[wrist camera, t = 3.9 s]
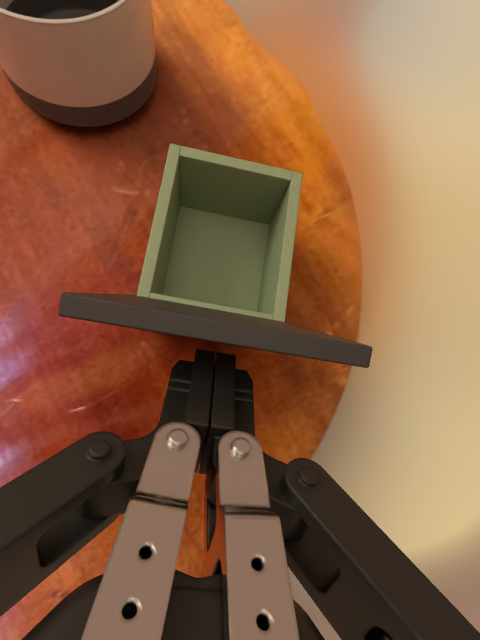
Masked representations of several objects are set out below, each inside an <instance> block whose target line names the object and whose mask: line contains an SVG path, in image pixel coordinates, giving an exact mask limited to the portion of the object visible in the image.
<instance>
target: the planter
mask: <svg viewBox="0 0 480 640" xmlns="http://www.w3.org/2000/svg"><path fill="white" fill-rule="evenodd" d="M0 65H1V67H2V69H3V71H4V73H5V74H6V76H7V78H8V80H9V82H10V84H11V85H12V87H13V89H14V90H15V92H16V93H17V95H18V96H19V97H20V98H21V99H22V101H23V102H24V103H25V104H27V105H28V106H29V107H30V108H31V109H33V110H34V111H35V112H37V113H39V114H40V115H42V116H44V117H46V118H48V119H50V120H53V121H56V122H59V123H62V124H66V125H71V126H79V127H96V126H103V125H108V124H112V123H115V122H117V121H120V120H122V119H124V118H126V117H128V116H130V115H131V114H133V113H134V112H136V111H137V110H138V109H139V108H140V107H141V106H142V105H143V104H144V103H145V102H146V101H147V100H148V98H149V97H150V95H151V93H152V91H153V89H154V86H155V83H156V79H157V58H156V46H155V33H154V21H153V8H152V0H0Z"/></svg>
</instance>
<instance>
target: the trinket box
mask: <svg viewBox="0 0 480 640" xmlns="http://www.w3.org/2000/svg"><path fill="white" fill-rule="evenodd" d="M302 176H303V174H302V173H299V172H295V171H290V170H286V169H281V168H277V167H273V166H268V165H264V164H260V163H255V162H251V161H246V160H242V159H238V158H233V157H229V156H224V155H220V154H216V153H211V152H207V151H202V150H198V149H194V148H189V147H185V146H182V147H181V146H180V145H176V144H171V143H170V146H169V151H168V155H167V160H166V164H165V169H164V173H163V178H162V182H161V187H160V192H159V196H158V201H157V205H156V210H155V214H154V219H153V223H152V228H151V232H150V237H149V242H148V246H147V251H146V255H145V260H144V264H143V269H142V273H141V278H140V283H139V287H138V292H137V295H138V296H143V297H149V298H154V299H160V300H166V301H171V302H177V303H182V304H188V305H193V306H199V307H205V308H210V309H216V310H221V311H227V312H232V313H238V314H244V315H249V316H255V317H260V318H266V319H271V320H277V321H283V322H285V315H286V307H287V299H288V290H289V282H290V274H291V266H292V258H293V249H294V241H295V233H296V225H297V217H298V208H299V200H300V192H301V184H302Z"/></svg>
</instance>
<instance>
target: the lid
mask: <svg viewBox="0 0 480 640" xmlns="http://www.w3.org/2000/svg"><path fill="white" fill-rule="evenodd" d="M58 315H59V316H63V317H69V318H75V319H81V320H87V321H93V322H98V323H104V324H110V325H116V326H122V327H128V328H134V329H140V330H146V331H152V332H157V333H163V334H169V335H175V336H181V337H187V338H193V339H199V340H205V341H211V342H217V343H222V344H228V345H234V346H240V347H246V348H252V349H258V350H264V351H270V352H276V353H282V354H287V355H293V356H299V357H305V358H311V359H317V360H323V361H329V362H335V363H341V364H347V365H352V366H359V367H364V368H368V367H369V363H370V358H371V353H372V347H370V346H367V345H364V344H360V343H357V342H354V341H350V340H347V339H343V338H340V337H336V336H333V335H329V334H326V333H322V332H319V331H315V330H312V329H308V328H305V327H301V326H298V325H294V324H291V323H287V322H283V321H277V320H271V319H266V318H260V317H255V316H249V315H244V314H238V313H232V312H227V311H221V310H216V309H210V308H205V307H199V306H193V305H188V304H182V303H177V302H171V301H166V300H160V299H154V298H149V297H143V296H138V295H119V294H94V293H69V292H63V293H62V294H61V299H60V305H59V312H58Z"/></svg>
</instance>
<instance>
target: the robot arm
mask: <svg viewBox="0 0 480 640" xmlns="http://www.w3.org/2000/svg"><path fill="white" fill-rule="evenodd" d="M235 364H236V356H235V355H230V354H224V353H218V352H216V356H215V352H213V351H207V350H201V349H196V353H195V359H194V362H190V361H184V360H179V362H178V363H177V364H176V365H175V366H174V367H173V368H172V371H171V375H170V380H169V384H168V388H167V392H166V396H165V400H164V405H163V409H162V413H161V417H160V421H159V424H158V426H157V427H156V429H155V430H154V431H153V432H152V433H150V434H149V435H147V436H145V437H142V438H139V439H133V440H126V441H123V440H122V439H121V438H120V437H119V436H117V435H116V434H113V433H111V432H95V433H92V434H89V435H87V436H85V437H83V438H82V439H80V440H78V441H77V442H75V443H74V444H72V445H70V446H69V447H67V448H65V449H64V450H62V451H60V452H59V453H57V454H55V455H54V456H52V457H50V458H49V459H47V460H45V461H44V462H42V463H40V464H39V465H37V466H35V467H34V468H32V469H31V470H29V471H27V472H26V473H24V474H22V475H21V476H19V477H17V478H16V479H14V480H12V481H11V482H9V483H7V484H6V485H4V486H2V487H1V488H0V617H1V616H2V615H3V614H4V613H5V612H6V611H8V610H9V609H10V608H11V607H12V606H14V605H15V604H16V603H17V602H18V601H20V600H21V599H22V598H23V597H24V596H25V595H27V594H28V593H29V592H30V591H31V590H33V589H34V588H35V587H36V586H37V585H39V584H40V583H41V582H42V581H43V580H45V579H46V578H47V577H48V576H49V575H50V574H52V573H53V572H54V571H55V570H56V569H58V568H59V567H60V566H61V565H62V564H64V563H65V562H66V561H67V560H68V559H69V558H71V557H72V556H73V555H74V554H75V553H77V552H78V551H79V550H80V549H81V548H83V547H84V546H85V545H86V544H87V543H88V542H90V541H91V540H92V539H93V538H94V537H96V536H97V535H98V534H99V533H100V532H102V531H103V530H104V529H105V528H106V527H108V526H109V525H110V524H111V523H112V522H113V521H114V520H115V519H116V518H117V517H118V515H119V514H122V513H125V515H124V518H123V520H122V523H121V526H120V529H119V532H118V535H117V538H116V541H115V543H114V546H113V549H112V552H111V555H110V558H109V561H108V564H107V566H106V569H105V572H104V574H102V575H99V576H97V577H95V578H93V579H91V580H89V581H87V582H85V583H84V584H82V585H81V586H79V587H78V588H76V589H75V590H74V591H72V592H71V593H70V594H69V595H67V596H66V597H65V598H64V599H63V600H62V601H61V602H60V603H59V604H58V605H57V606H56V607H55V608H54V609H53V610H52V611H51V612H50V613H48V614H47V615H46V616H45V617H44V618H43V619H42V620H41V621H40V622H39V623H38V624H37V625H36V626H35V627H34V628H33V629H32V630H31V631H30V632H29V633H28V634H27V635H26V636H25V637H24V638H23V639H22V640H325V639H324V638H323V636H322V635H321V634H320V632H319V630H318V629H317V627H316V626H315V624H314V623H313V622H312V620H311V619H310V617H309V616H308V615H307V613H306V612H305V611H304V610H303V609H302V607H301V606H300V605H299V604H298V603H296V602H295V601H294V600H293V597H292V591H291V584H290V578H289V572H288V567H289V568H290V569H291V571H292V572H293V573H294V575H295V576H296V578H297V579H298V580H299V581H300V583H301V584H302V586H303V587H304V589H305V590H306V591H307V593H308V594H309V595H310V597H311V598H312V600H313V601H314V602H315V604H316V605H317V606H318V608H319V609H320V611H321V612H322V613H323V615H324V616H325V617H326V619H327V620H328V622H329V623H330V624H331V626H332V627H333V628H334V630H335V631H336V632H337V634H338V635H339V637H340V638H341V639H342V640H480V633H479V632H478V631H477V630H476V629H475V628H474V627H473V626H472V625H471V624H470V623H469V622H468V621H467V619H465V617H464V616H463V615H462V614H461V613H460V612H459V611H458V610H457V609H456V608H455V607H454V606H453V605H452V604H451V603H450V602H449V600H448V599H447V598H446V597H445V596H444V595H443V594H442V593H441V592H440V591H439V590H438V589H437V588H436V587H435V586H434V585H433V584H432V583H431V582H430V581H429V580H428V578H427V577H426V576H425V575H424V574H423V573H422V572H421V571H420V570H419V569H418V568H417V567H416V566H415V565H414V564H413V563H412V562H411V560H410V559H409V558H408V557H407V556H406V555H405V554H404V553H403V552H402V551H401V550H400V549H399V548H398V547H397V546H396V545H395V544H394V543H393V542H392V540H390V538H389V537H388V536H387V535H386V534H385V533H384V532H383V531H382V530H381V529H380V528H379V527H378V526H377V525H376V524H375V523H374V522H373V521H372V519H371V518H370V517H369V516H368V515H367V514H366V513H365V512H364V511H363V510H362V509H361V508H360V507H359V506H358V505H357V504H356V503H355V502H354V501H353V500H352V498H351V497H350V496H349V495H348V494H347V493H346V492H345V491H344V490H343V489H342V488H341V487H340V486H339V485H338V484H337V483H336V482H335V481H334V479H332V478H331V476H330V475H329V474H328V473H327V472H326V471H325V470H324V469H323V468H322V467H321V466H320V465H318V464H317V463H316V462H314V461H312V460H309V459H306V458H297V459H294V460H292V461H291V462H289V464H288V465H287V464H285V463H283V462H281V461H278V460H276V459H274V458H272V457H270V456H269V455H267V454H266V453H265V452H264V451H263V450H262V447H261V445H260V443H259V441H258V440H257V439H256V438H255V426H254V403H253V381H252V379H251V377H250V376H249V374H248V372H247V371H245V370H238V369H235ZM200 458H201V459H200ZM199 463H200V469H199V473H201V474H206V480H205V496H204V558H203V567H202V575H201V578H195V577H192V576H189V575H187V574H185V573H182V572H180V571H177V570H175V568H176V563H177V558H178V553H179V548H180V543H181V538H182V533H183V528H184V523H185V518H186V513H187V508H188V501H189V496H190V492H191V487H192V482H193V477H194V473H197V471H198V467H199ZM287 565H288V566H287Z"/></svg>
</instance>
